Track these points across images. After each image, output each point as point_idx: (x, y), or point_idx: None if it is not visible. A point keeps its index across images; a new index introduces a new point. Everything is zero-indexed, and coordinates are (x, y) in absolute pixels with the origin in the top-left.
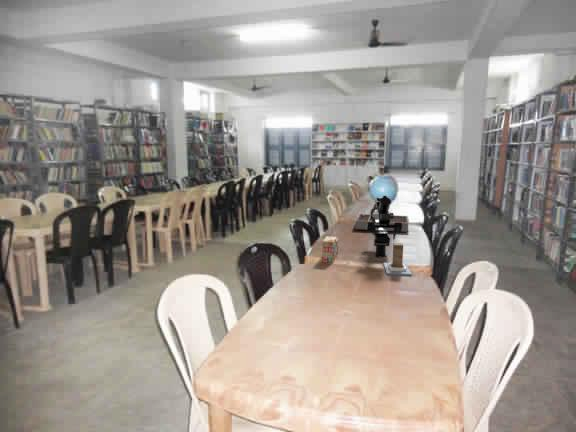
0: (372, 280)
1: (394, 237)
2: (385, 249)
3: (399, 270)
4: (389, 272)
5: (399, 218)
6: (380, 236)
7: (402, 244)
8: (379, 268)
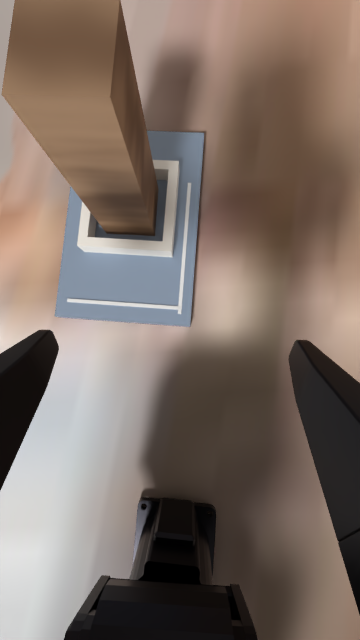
0: (286, 55)
1: (22, 343)
2: (134, 563)
3: None
4: (188, 140)
5: None
6: None
7: (15, 30)
8: (224, 247)
